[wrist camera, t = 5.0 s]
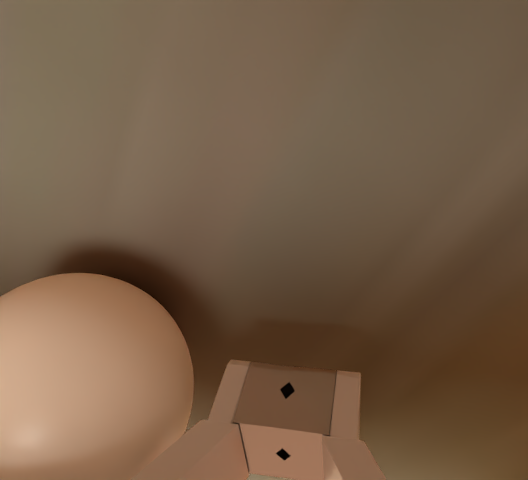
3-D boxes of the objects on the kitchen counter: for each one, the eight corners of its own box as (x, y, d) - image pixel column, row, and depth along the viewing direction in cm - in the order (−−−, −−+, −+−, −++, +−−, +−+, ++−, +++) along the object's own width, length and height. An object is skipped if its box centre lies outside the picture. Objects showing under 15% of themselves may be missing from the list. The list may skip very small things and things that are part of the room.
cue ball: (-184, 348, 9) (46, 221, 13) (-64, 525, 11) (95, 370, 16) (29, 437, 7) (220, 249, 11) (117, 630, 9) (243, 417, 13)
